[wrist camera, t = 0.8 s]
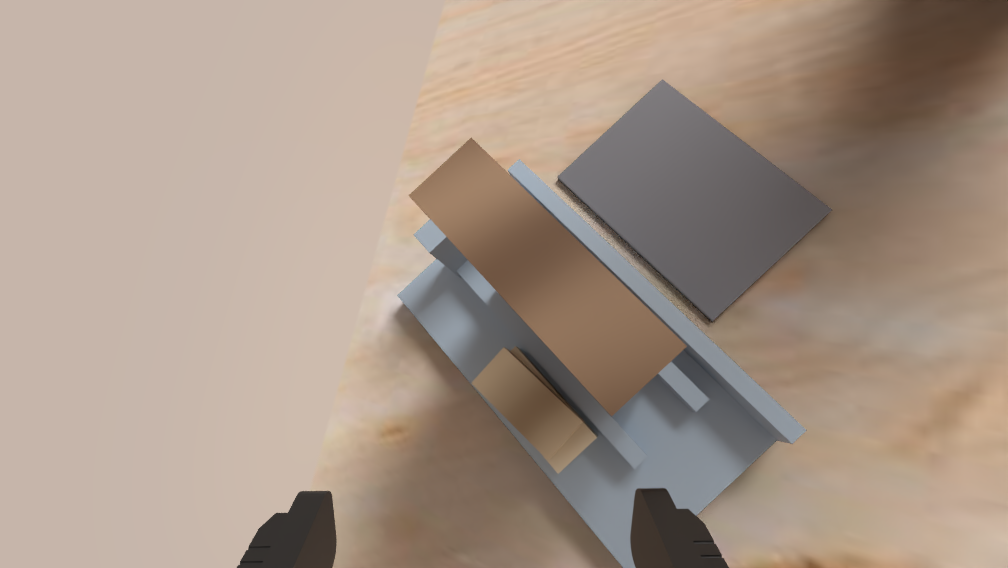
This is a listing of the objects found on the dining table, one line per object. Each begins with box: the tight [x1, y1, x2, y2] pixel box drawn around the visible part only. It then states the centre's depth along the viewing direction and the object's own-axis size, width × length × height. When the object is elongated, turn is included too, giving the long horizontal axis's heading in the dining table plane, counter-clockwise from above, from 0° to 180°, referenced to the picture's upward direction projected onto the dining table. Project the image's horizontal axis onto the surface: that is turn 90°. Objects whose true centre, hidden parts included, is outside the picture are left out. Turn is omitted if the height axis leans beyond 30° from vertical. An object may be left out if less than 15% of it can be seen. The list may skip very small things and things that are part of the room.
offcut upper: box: [471, 347, 584, 460], centre depth 29 cm, size 6×3×2 cm, turn 46°
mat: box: [558, 80, 832, 321], centre depth 33 cm, size 14×10×1 cm
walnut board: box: [409, 138, 687, 416], centre depth 24 cm, size 10×3×16 cm, turn 41°
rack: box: [397, 159, 806, 568], centre depth 29 cm, size 22×12×8 cm, turn 41°
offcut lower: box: [511, 346, 598, 474], centre depth 30 cm, size 7×3×2 cm, turn 41°
